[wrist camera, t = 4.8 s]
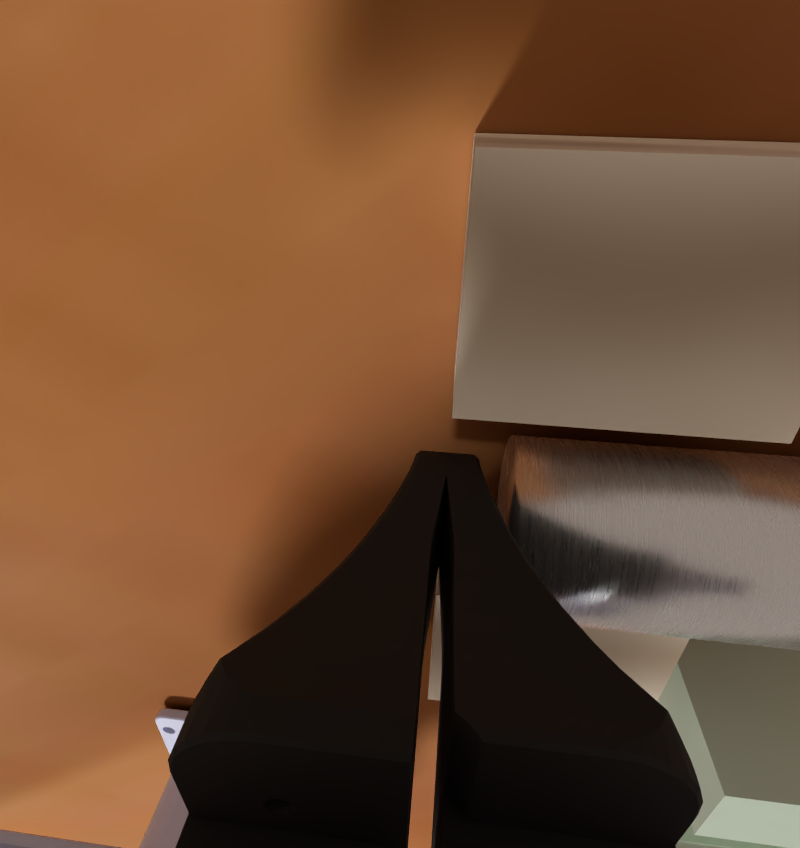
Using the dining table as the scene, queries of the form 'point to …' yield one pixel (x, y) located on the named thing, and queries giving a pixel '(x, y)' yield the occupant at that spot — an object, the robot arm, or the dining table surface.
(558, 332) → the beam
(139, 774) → the dining table surface
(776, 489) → the axle
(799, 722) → the v block
